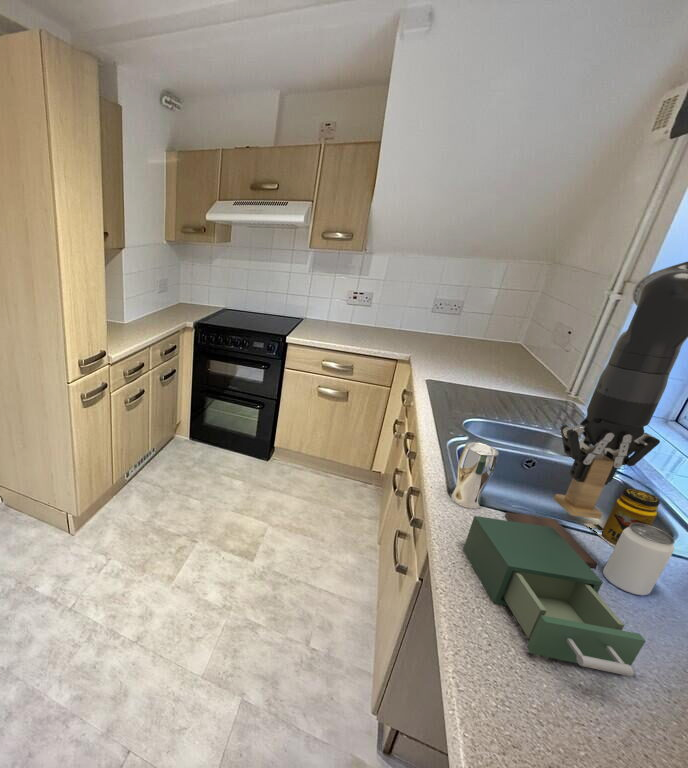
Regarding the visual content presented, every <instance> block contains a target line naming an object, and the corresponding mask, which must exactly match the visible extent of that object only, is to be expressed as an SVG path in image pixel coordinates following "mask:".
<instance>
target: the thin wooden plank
mask: <svg viewBox="0 0 688 768" xmlns="http://www.w3.org/2000/svg"><path fill="white" fill-rule="evenodd" d="M504 517H505V518H506V519H507V521H512V522H519V523H526V524H533V525H539V526H546V527H553V528H554V529H555V530H556V531H557V533H558V534H559V535H560V536H561V537H562V538H563V539H564V540H565V541H566V542H567V543H568V544H569V546H570V547H571V548H572V549H573V550H574V551H575V552H576V553H577V554H578V555H579V556H580V557H581V559H582V560H583V561H584V562H585V563H586V564H587V565H588V566H589V567H590V568H591V569H597V567H598V565H599V564H598V562H597V561H596V560H595V559H594V558H593V557H592V556H591V554H589V553H588V552H587V551H586V549H584V548H583V546H582V545H581V544H580V543H579V542H578V541H577V540H576V539H575V538H574V537H573V536H572V535H571V534H570V533H569V532H568V531H567V530H566V528H564V527H563V525H562V524H561V523H560V522H558V520H557V519H555V518H549V517H542V516H535V515H529V514H521V513H514V512H510V511H509V512H508V511H507V512H505V515H504Z"/></svg>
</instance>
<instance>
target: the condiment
mask: <svg viewBox="0 0 688 768" xmlns="http://www.w3.org/2000/svg"><path fill="white" fill-rule="evenodd" d="M660 504H661V500H660V499H659V498H658V497H657V496H656V495H655V494H652V493H650V492H648V491H645V490H643V489H642V490H641V489H638V488H625V489H624V490H622V494H621V495H620V497H619V498H616V501H615V503H614V505H613V507H612V509H611V511H610V513H609V516H608V517H607V518H606V522H605V523H604V526H603V527H602V526H601V525H600V524H599V523H597V524H596V523H583V525H584V526H586V527H587V528H589V527H590V528H596V529H598V530H603V531H602V535H600V534H598V533H596V532H594V533H595V534H596V535H598V537H600V538H601V539H602V540H604V541H605V542H606V543H607V544H608V545H611V547H612V548H613V549H614V548H615V546H616V544H617V542H618V540H619V538H620V536H621V534H622V532H623V530H624V529H626V528H627V527H629V526H630V524H631V523H642V524H646V525H650V526H653V524H654V522H655V520H656V517H657V515H658V512H657V510H658V509H659V508H658V507H659V505H660ZM590 528H589V529H590ZM593 530H595V529H591V531H593Z"/></svg>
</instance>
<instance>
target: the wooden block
mask: <svg viewBox="0 0 688 768" xmlns="http://www.w3.org/2000/svg"><path fill="white" fill-rule="evenodd" d="M585 455H586V454H585ZM613 464H614V461H613V460H611V459H610V458H608V457H607V456H605V455H604V453H601V454H600V455H596V457H595V458H594V460H593V461H592V463H591V464H589V465H591V466H590V468H589V470H588V473H587V475H586V477H585V480H584V482H577V481H576V480H575V479H574V478H571V481H570V483H569V486H568V489H567V490H566V492H565V494H560V493H559V494H558V493H556V494H555V495H554V497H553V500H554V501H555V502H556V503H557V504H558V505H559V506H560V507H561V508H563V510H565V511H566V513H568V515H570V516H572V517H573V516H574V517H579V518H580V517H581V518H588V519H596V520H597V519H598V520H601V518H602V516H603V512H601V510H599V509H598V508H597V507H596V505H597V502H598V500H599V497H600V495H601V494H602V491H603V488H604V486H605V485H604V484H605V482H606V480H607V478H608V476H609V473H610V471H611V469H612V467H613Z"/></svg>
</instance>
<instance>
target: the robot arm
mask: <svg viewBox="0 0 688 768" xmlns="http://www.w3.org/2000/svg"><path fill="white" fill-rule="evenodd" d="M632 300H633V302H634V304H635V305H636V308H635V311H634V313H633V316H632V318H631V320H630V323H629V325H628V328H627V329H626V330H625V331H624V332H622V333H621V334H620V335H619V337H618V338H617V340H616V343H615V344H614V347H613V349H612V352H611V354H610V356H609V359H608V361H607V363H606V366H605V368H604V369H603V370H602V372H601V374H600V376H599V377H598V380H597V383H596V385H595V389H594V391H593V393H592V395H591V398H590V401H589V403H588V406H587V408H586V417H585V418H584V419H583V420H582V421H581V422H580V424H578V425H574V426H569V425H567V424H564V425H561V426H560V434H561V441H562V446H563V447H562V448H563V451H564V452H563V453H565V454H566V455H567V456H569V458H571V459H573V460H574V461H573V463H572V466H571V468H570V470H569V474H570V475H571V479H573V478H574V479H575V480H576V481H577V482H584V480H585V477H586V475H587V473H588V470H589V468H590V466H591V465H589V464H591V463H592V461H593V460H594V458H595V457H596V455H600V454H604V455H605V456H607V457H608V458H610V459H611V460H613V461H614V464H613V467H612V469H611V471H610V473H609V476H608V478H607V480H606V482H605V484H604V486H607V485H608V484H609V483H611V482H612V481H613V478H614V477H615V474H616V473H617V470H618V469H619V468H621V467H622V466H628V467H634V466H635V465H637V464H638V463H639V462H640V461H641V460H642V459H644V458H645V457H646V456H647V455H648V454H650V452H651V451H653V450H654V449H655V448H656V447H657V446H658V445H660V443H661V441H660V439H658V438H657V437H655V436H654V435H652V434H649V433H648V432H645V427H647V426H648V425H649V424H650V422H651V420H652V418H653V417H654V414H655V412H656V410H657V407H658V406H659V403H660V401H661V399H662V397H663V395H664V393H665V391H666V389H667V385H668V382H669V378H670V375H671V372H672V370H673V368H674V367H675V364H676V361H677V359H678V357H679V355H680V352H681V349H682V346H683V345H684V343H685V342H686V341H687V339H688V261H684V262H681V263H678V264H674V265H670V266H668V267H664V268H661V269H659V270H656V271H653V272H652V273H650V274H647V275H646V276H644V277H642V279H640V281H638V282H637V283H636V285H635V286H634V287H633V290H632ZM582 434H583V437H582ZM603 451H604V453H603ZM585 454H586V455H585Z"/></svg>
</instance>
